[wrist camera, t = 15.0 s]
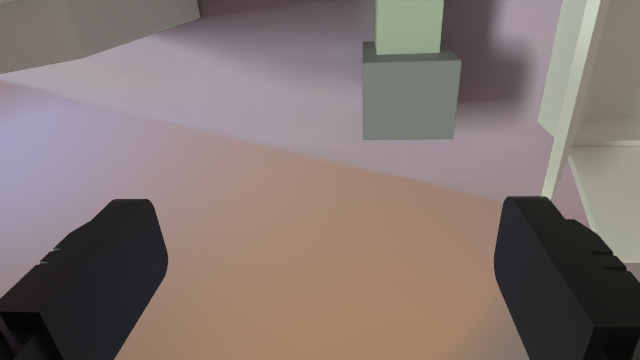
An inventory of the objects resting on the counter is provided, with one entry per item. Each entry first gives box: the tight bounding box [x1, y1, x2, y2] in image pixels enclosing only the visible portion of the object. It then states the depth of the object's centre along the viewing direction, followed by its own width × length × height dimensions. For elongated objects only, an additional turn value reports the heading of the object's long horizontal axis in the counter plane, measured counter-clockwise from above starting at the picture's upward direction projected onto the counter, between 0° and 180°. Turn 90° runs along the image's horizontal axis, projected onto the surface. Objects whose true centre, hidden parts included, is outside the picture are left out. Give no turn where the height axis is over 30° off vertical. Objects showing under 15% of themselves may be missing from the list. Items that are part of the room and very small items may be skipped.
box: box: [363, 0, 462, 140], centre depth 27 cm, size 14×6×7 cm, turn 3°
